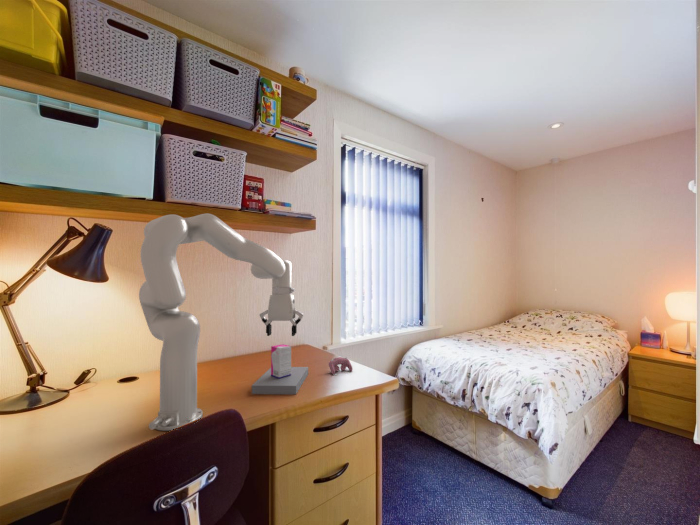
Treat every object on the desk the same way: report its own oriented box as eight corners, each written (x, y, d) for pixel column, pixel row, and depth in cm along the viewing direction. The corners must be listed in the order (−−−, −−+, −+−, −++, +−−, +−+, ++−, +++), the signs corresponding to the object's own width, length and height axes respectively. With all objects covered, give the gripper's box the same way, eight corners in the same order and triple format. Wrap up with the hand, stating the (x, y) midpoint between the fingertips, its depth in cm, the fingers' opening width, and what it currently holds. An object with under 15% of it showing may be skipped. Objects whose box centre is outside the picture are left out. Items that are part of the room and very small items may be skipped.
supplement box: (291, 375, 118) (291, 345, 119) (279, 379, 114) (278, 348, 114) (283, 372, 122) (282, 343, 123) (270, 376, 118) (270, 346, 118)
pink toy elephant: (349, 372, 134) (346, 356, 138) (354, 370, 131) (350, 354, 134) (329, 376, 130) (326, 360, 133) (332, 374, 127) (329, 357, 130)
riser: (296, 394, 107) (296, 385, 107) (251, 394, 108) (251, 385, 108) (308, 374, 129) (308, 366, 129) (271, 374, 130) (271, 366, 130)
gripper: (305, 291, 123) (305, 333, 122) (263, 291, 124) (263, 333, 123) (301, 291, 115) (301, 337, 114) (256, 291, 116) (256, 337, 115)
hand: (281, 335), depth 119 cm, fingers open, 9 cm apart
